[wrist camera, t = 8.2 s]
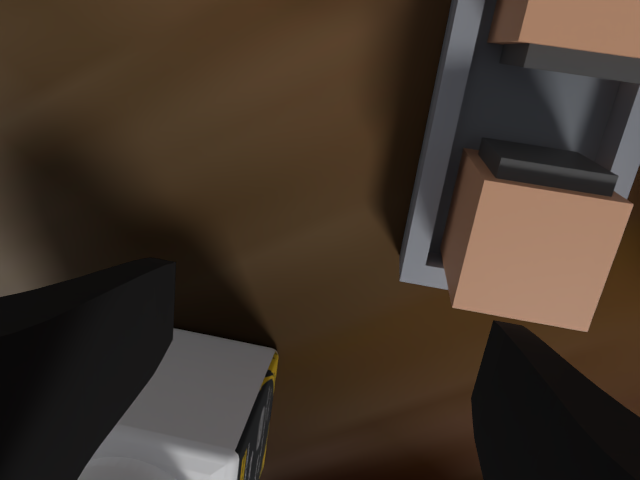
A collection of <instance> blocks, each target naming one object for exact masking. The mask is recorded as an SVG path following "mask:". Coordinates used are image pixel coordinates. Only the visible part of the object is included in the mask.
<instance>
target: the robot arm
mask: <svg viewBox="0 0 640 480" xmlns="http://www.w3.org/2000/svg"><path fill="white" fill-rule="evenodd" d="M175 273H176V262H172V261H167V260H161V259H156V258H144V259H139V260H135V261H131V262H128V263H124V264H121V265H117V266H114V267H111V268H108V269H104V270H101V271H98V272H95V273H91V274H88V275H85V276H82V277H78V278H75V279H71V280H68V281H64V282H60V283H57V284H53V285H49V286H46V287H42V288H38V289H34V290H31V291H26V292H22V293H18V294H13V295H8V296H3V297H0V480H78V478H79V476H80V475H81V473H82V471H83V470H84V468H85V466H86V465H87V463H88V462H89V461H90V459H91V458H92V456H93V455H94V453H95V452H96V450H97V449H98V448H99V446H100V445H101V444H102V442H103V441H104V440H105V438H106V437H107V436H108V434H109V433H110V432H111V431H112V429H113V428H114V427H115V425H116V424H117V423H118V421H119V420H120V419H121V417H122V416H123V415H124V413H125V412H126V411H127V410H128V408H129V407H130V406H131V404H132V403H133V402H134V400H135V399H136V398H137V396H138V395H139V394H140V392H141V391H142V390H143V388H144V387H145V386H146V384H147V383H148V382H149V380H150V379H151V377H152V376H153V375H154V373H155V372H156V370H157V368H158V366H159V365H160V363H161V361H162V359H163V357H164V355H165V354H166V352H167V350H168V348H169V346H170V344H171V342H172V340H173V326H174V299H175ZM471 402H472V417H473V428H474V438H475V443H476V448H477V452H478V457H479V461H480V466H481V470H482V475H483V479H484V480H640V417H638V416H637V415H636V414H634V413H633V412H631V411H630V410H628V409H627V408H626V407H624V406H623V405H622V404H620V403H619V402H618V401H616V400H615V399H614V398H612V397H611V396H610V395H608V394H607V393H606V392H604V391H603V390H601V389H600V388H599V387H598V386H596V385H595V384H594V383H593V382H591V381H590V380H589V379H588V378H586V377H585V376H584V375H583V374H581V373H580V372H579V371H578V370H577V369H575V368H574V367H573V366H572V365H571V364H569V363H568V362H567V361H566V360H565V359H563V358H562V357H561V356H560V355H559V354H558V353H556V352H555V351H554V350H553V349H552V348H551V347H549V346H548V345H547V344H546V343H545V342H543V341H542V340H541V339H540V338H539V337H537V336H536V335H535V334H534V333H532V332H531V331H530V330H528V329H527V328H525V327H524V326H522V325H516V324H511V323H505V322H500V321H495V320H493V324H492V327H491V331H490V334H489V338H488V341H487V345H486V348H485V351H484V355H483V358H482V362H481V365H480V369H479V372H478V376H477V379H476V383H475V386H474V390H473V393H472V397H471Z"/></svg>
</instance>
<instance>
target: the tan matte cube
mask: <svg viewBox="0 0 640 480" xmlns="http://www.w3.org/2000/svg"><path fill="white" fill-rule="evenodd" d="M487 43H495V44H502V45H504V46H503V50H502V54H501V58H500V62H499V63H500V64H506V65H513V66H519V67H525V68H532V69H539V70H546V71H553V72H560V73H567V74H574V75H581V76H588V77H595V78H602V79H609V80H616V81H623V82H630V83H637V84H640V0H497V2H496V6H495V10H494V15H493V19H492V23H491V27H490V32H489V36H488V40H487Z"/></svg>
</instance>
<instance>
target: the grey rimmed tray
mask: <svg viewBox="0 0 640 480" xmlns="http://www.w3.org/2000/svg"><path fill="white" fill-rule="evenodd" d="M496 2H497V0H452V2H451V7H450V12H449V16H448V21H447V26H446V31H445V36H444V41H443V46H442V51H441V56H440V61H439V65H438V70H437V75H436V80H435V85H434V90H433V95H432V100H431V105H430V110H429V114H428V119H427V124H426V129H425V134H424V139H423V144H422V149H421V154H420V159H419V163H418V168H417V173H416V178H415V183H414V188H413V193H412V198H411V203H410V208H409V213H408V217H407V222H406V227H405V232H404V237H403V242H402V247H401V252H400V281H402V282H408V283H413V284H419V285H424V286H430V287H435V288H441V289H447V290H449V294H450V299H451V304H452V308H458V309H463V310H469V311H474V312H480V313H485V314H491V315H496V316H502V317H507V318H513V319H518V320H524V321H529V322H535V323H540V324H546V325H551V326H557V327H562V328H568V329H573V330H579V331H584V332H587V331H588V329H589V326H590V323H591V320H592V318H593V315H594V312H595V309H596V307H597V304H598V301H599V298H600V296H601V293H602V290H603V287H604V285H605V282H606V279H607V276H608V274H609V271H610V268H611V265H612V263H613V260H614V257H615V254H616V252H617V249H618V246H619V244H620V241H621V238H622V235H623V233H624V230H625V227H626V224H627V222H628V219H629V216H630V213H631V211H632V208H633V205H634V204H633V203H631V202H630V201H628V200H627V198H628V195H629V192H630V190H631V187H632V184H633V181H634V179H635V176H636V173H637V170H638V167H639V165H640V84H637V83H630V82H623V81H616V80H609V79H602V78H595V77H588V76H581V75H574V74H567V73H560V72H553V71H546V70H539V69H532V68H525V67H519V66H513V65H506V64H500V63H499V62H500V58H501V54H502V50H503V46H504V45H502V44H495V43H487V40H488V36H489V32H490V27H491V23H492V19H493V15H494V10H495V6H496Z"/></svg>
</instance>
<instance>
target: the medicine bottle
mask: <svg viewBox="0 0 640 480" xmlns="http://www.w3.org/2000/svg"><path fill="white" fill-rule="evenodd" d="M277 364H278V352H277V351H276V350H275V349H273V348H269V347H264V346H259V345H255V344H250V343H245V342H240V341H235V340H230V339H225V338H220V337H215V336H210V335H206V334H201V333H196V332H191V331H186V330H181V329H176V328H173V340H172V342H171V344H170V346H169V348H168V350H167V352H166V354H165V355H164V357H163V359H162V361H161V363H160V365H159V366H158V368H157V370H156V372H155V373H154V375H153V376H152V377H151V379H150V380H149V382H148V383H147V384H146V386H145V387H144V388H143V390H142V391H141V392H140V394H139V395H138V396H137V398H136V399H135V400H134V402H133V403H132V404H131V406H130V407H129V408H128V410H127V411H126V412H125V413H124V415H123V416H122V417H121V419H120V420H119V421H118V423H117V424H116V425H115V427H114V428H113V429H112V431H111V432H110V433H109V434H108V436H107V437H106V438H105V440H104V441H103V442H102V444H101V445H100V446H99V448H98V449H97V450H96V452H95V453H94V455H93V456H92V458H91V459H90V461H89V462H88V463H87V465H86V466H85V468H84V470H83V471H82V473H81V475H80V476H79V478H78V480H259V478H260V475H261V472H262V469H263V466H264V460H265V453H266V445H267V438H268V431H269V423H270V416H271V409H272V401H273V394H274V387H275V379H276V372H277Z"/></svg>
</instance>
